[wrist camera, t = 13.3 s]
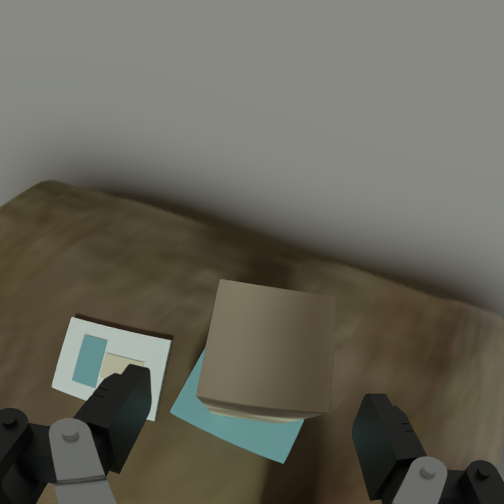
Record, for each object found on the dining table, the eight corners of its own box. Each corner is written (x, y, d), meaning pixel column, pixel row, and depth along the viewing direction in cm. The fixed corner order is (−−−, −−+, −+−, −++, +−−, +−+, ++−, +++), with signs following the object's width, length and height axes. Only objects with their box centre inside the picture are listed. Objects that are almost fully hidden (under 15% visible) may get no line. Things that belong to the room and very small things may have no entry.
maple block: (212, 413, 18) (195, 395, 9) (223, 349, 20) (220, 278, 12) (282, 423, 18) (329, 412, 9) (290, 359, 20) (335, 296, 12)
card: (54, 388, 22) (51, 386, 21) (74, 319, 25) (71, 316, 25) (155, 421, 21) (154, 421, 21) (172, 342, 25) (170, 340, 25)
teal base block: (182, 416, 22) (169, 412, 18) (225, 334, 26) (224, 312, 22) (274, 458, 20) (283, 463, 16) (313, 371, 24) (329, 357, 20)
